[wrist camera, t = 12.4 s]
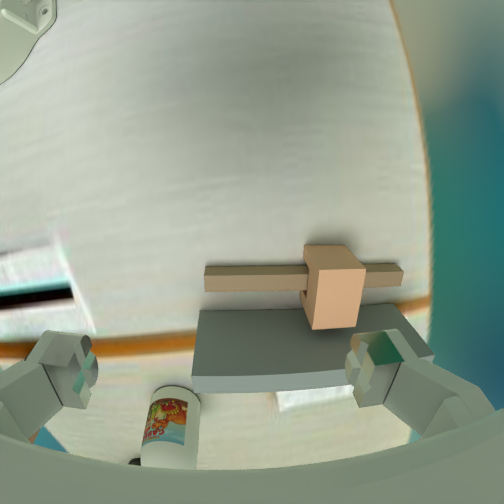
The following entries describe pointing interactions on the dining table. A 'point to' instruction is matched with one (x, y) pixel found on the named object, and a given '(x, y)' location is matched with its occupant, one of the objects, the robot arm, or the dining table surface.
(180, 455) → the milk bottle
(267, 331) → the cleat board
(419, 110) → the dining table surface
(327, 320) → the block
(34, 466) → the robot arm
